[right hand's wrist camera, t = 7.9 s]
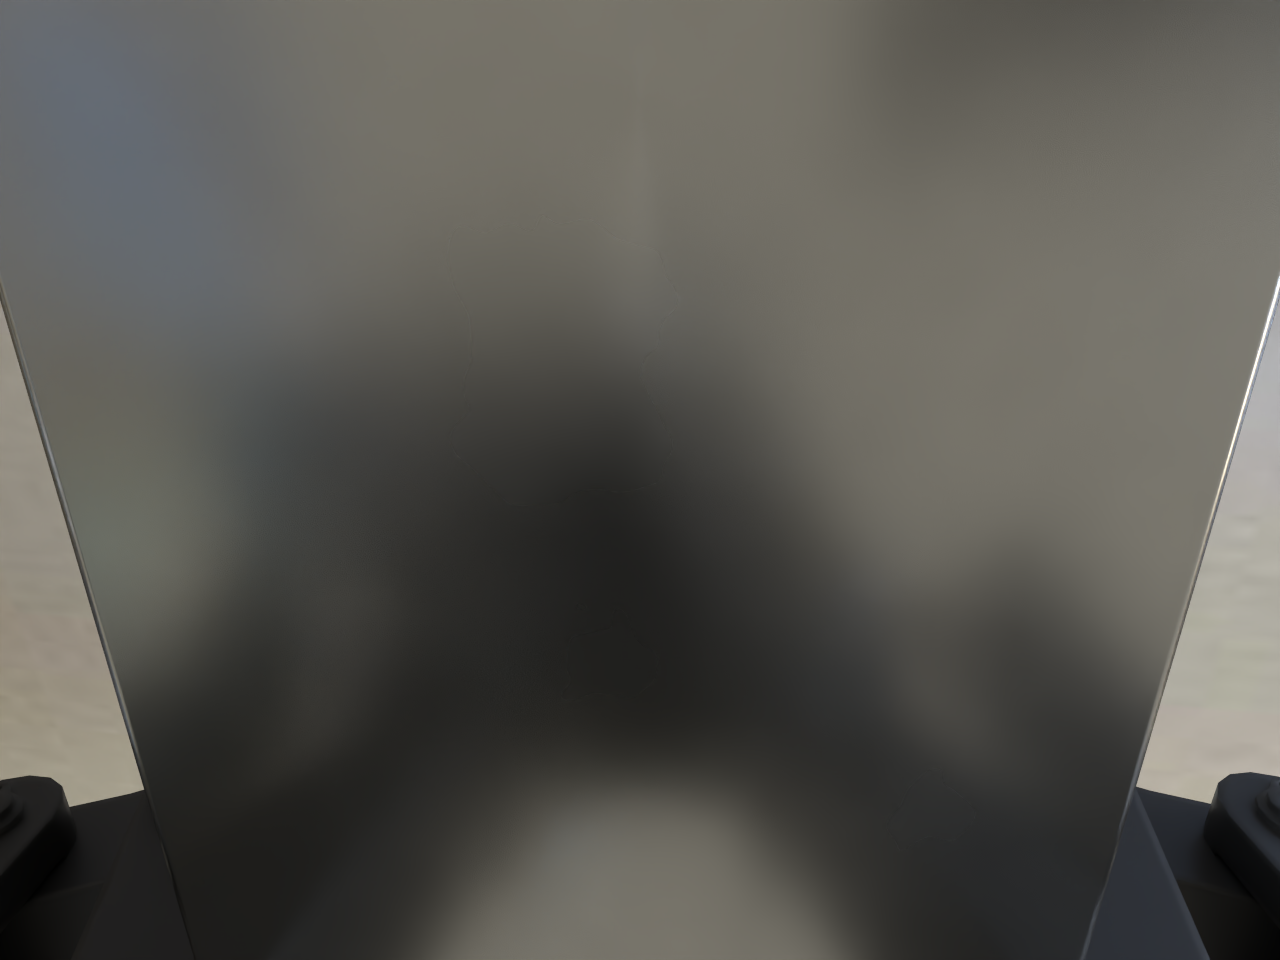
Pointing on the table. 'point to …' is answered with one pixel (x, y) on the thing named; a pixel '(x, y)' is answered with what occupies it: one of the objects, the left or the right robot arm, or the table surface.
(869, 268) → the box
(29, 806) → the right robot arm
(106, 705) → the table surface
